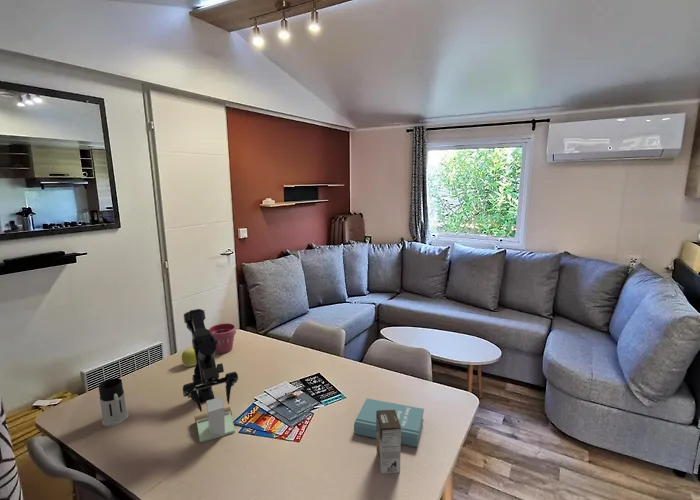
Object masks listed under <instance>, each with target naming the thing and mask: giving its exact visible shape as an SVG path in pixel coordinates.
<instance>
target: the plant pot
mask: <svg viewBox="0 0 700 500" xmlns="http://www.w3.org/2000/svg"><path fill="white" fill-rule="evenodd" d="M236 328H237V327H236V325H235V324H233V323H228V322H227V323H219V324H215V325H212V326H211V327H209V328H208V330H210V332H211V335H213V337H215V339H216V341H217V344H216V351H215V354H220V355H221V354H227V353H229V352H231V351H232V350H233V347H234V342H235V341H234V340H235V339H234V338H235V335H236V333H237V329H236Z"/></svg>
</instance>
